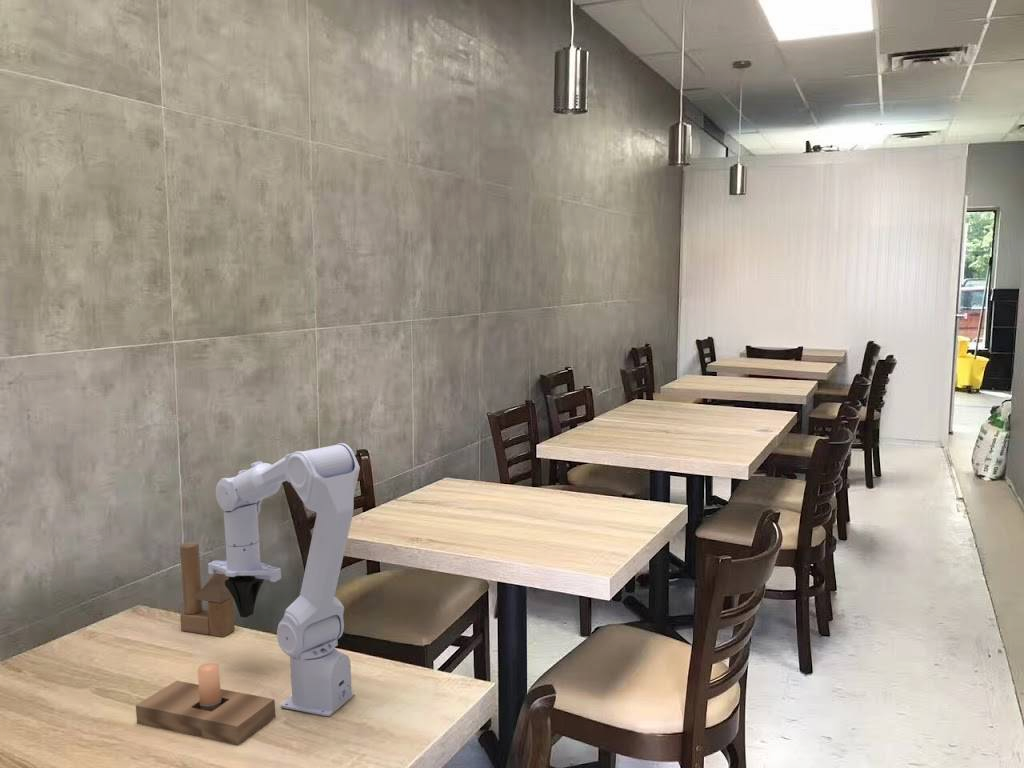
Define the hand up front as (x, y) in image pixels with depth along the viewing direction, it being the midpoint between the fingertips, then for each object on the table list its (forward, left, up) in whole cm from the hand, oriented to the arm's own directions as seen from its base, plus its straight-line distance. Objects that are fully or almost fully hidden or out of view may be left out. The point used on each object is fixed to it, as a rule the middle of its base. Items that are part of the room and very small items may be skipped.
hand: (246, 615), depth 151 cm
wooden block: (+20, -12, -11) cm, 26 cm away
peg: (-6, +17, -10) cm, 21 cm away
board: (-5, +17, -10) cm, 21 cm away
